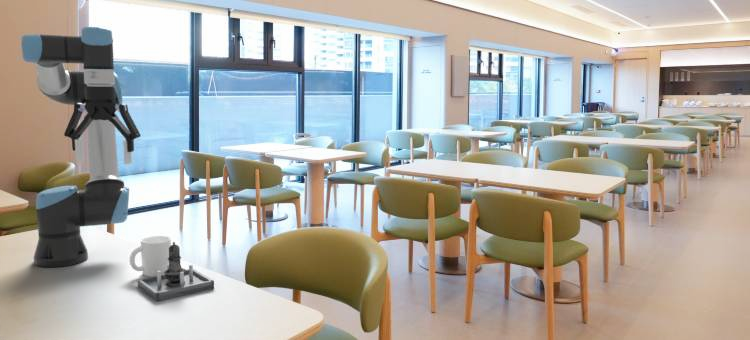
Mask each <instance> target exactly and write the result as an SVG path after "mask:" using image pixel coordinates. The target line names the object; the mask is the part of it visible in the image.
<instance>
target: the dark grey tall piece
mask: <svg viewBox="0 0 750 340" xmlns="http://www.w3.org/2000/svg"><path fill="white" fill-rule="evenodd" d="M180 250H181V249H180V246H179V245H178V244H176V242H175V241H173V242H172V244H171V246H170V247H169V258H168V260H169V268H168V270H165V271H164V274H165V277H166V279H168V280H169V281H168V282H167V283H166V284H165V285H166V286H168V287H178V286H180V272H184V276H185V272H186V270H187V269H186V268H183V267H182V265H181V260H182V256H181V254H180V252H181V251H180ZM184 284H185V281H184Z"/></svg>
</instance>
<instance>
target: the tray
mask: <svg viewBox="0 0 750 340" xmlns="http://www.w3.org/2000/svg"><path fill="white" fill-rule="evenodd" d="M193 265H194V264H189V265H188V269H185V270H186V272H185V276H184V272H180V286H178V287H168V286H166V285H165V284H166V283H167V282H168V281H169V280H168V279H166V277H165V274H163V275H161V271H157V276H153V277H148V276H147V277H144V278H143V277H142V278H139V279H137V282H136V283H137V288H138V289H140V290H141V292H143V293H145V294H146V295H147V296H149V297H150V298H151V299H153V300H154V301H155V302H156V303H157V302H161V301H164V300H170V299H174V298H179V297H183V296H187V295H191V294H195V293H199V292H205V291H208V290H212V289H213V290H214V289H215V281H214V280H213V279H211V278H210V277H208V276H207V275H205V274H204V273H202V272H199V271H198V270H196V269H195V268H194V267H193ZM168 268H169V264H167V270H168ZM184 281H185V284H184Z"/></svg>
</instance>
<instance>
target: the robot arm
mask: <svg viewBox="0 0 750 340" xmlns="http://www.w3.org/2000/svg"><path fill="white" fill-rule="evenodd" d="M21 54H22V58H23V60H24V62H27V63H33V64H35V65H34V66H35V68H36V69H35V70H36V72H37V76H36V84H37V87H38V89H39V90H40V92H41V94H43V95H44V96H45V97H47V98H48V99H51V100H52V101H54V102H56V103H57V102H58V103H60V104H64V105H70V106H73V113H72V114H71V117H70V120H69V122H68V124H67V127H66V129H65V131H64V134H63V136H64V137H66V138H67V137H68V138H70V139H71V145H72V146H71V147H72V151H74V152H75V163H76V164H80V163H81V164H82V163H84V162H85V156H84V154H85V153H84V140H83V139H84V138H81V136H82V135H83V134H84V132H85V131H86V132H87V133H86V134H87V148H88V167H89V180H88V181H87V182H85V184H84V189H79V188H78V186H77V185H63V186H62V185H61V186H57V187H52V188H48V189H44V190H42V191H40V192H39V193H37V195H36V202H35V203H36V204H35V205H36V206H35V209H36V214H37V215H36V217H37V231H38V240H37V244H36V246H35V252H34V255H33V265H35V266H36V267H41V268H59V267H66V266H67V267H68V266H72V265H76V264H79V263H82V262H84V261H86V260H88V258H89V256H88V255H89V254H88V249H87V247H86V244H85V242H84V239H83V237H82V236H81V227H89V226H90V227H92V226H106V225H112V226H113V225H114V224H122V223H124V222H126V221H127V219H128V212H129V211H128V210H129V196H130V187H127V186H125V182H124V180H122V179H121V178H120V177H119V166H118V165H119V164H118V151H117V137H116V129H117V131H118V132H119V133H120V134H121V135H122V136H123V137H124V140H123V141H122V143H123V145H122V146H123V162H124V165H130V164H132V152H134V151H135V139H138V138H140V137H141V133H140V131H139V130H138V127H137V125H136V124H135V121H134V120H133V118H132V116H131V114H130V112H129V108H128V104H127V103H123V94H122V87H121V86H122V85H121V82H120V79H119V75H118V74H117V73H116V72H115V67H114V38H113V32H112V30H111V28H109V27H103V26H102V27H101V26H100V27H99V26H85V27H82V29H81V36H79V35H78V36H77V35H57V34H39V33H34V34H32V33H31V34H29V33H27V34H23V35H22V36H21ZM65 64H83V70H82V69H81V70H78V69H66V67H65ZM116 112H119V114H120V117H121V118H122V120H123V122H124V123H123V122H122V120H121V119H120V118H119V116H118V115H117V114H116ZM83 113H85V115H84V118H83V120H82V121H81V122H80V120H81V117H82V115H83ZM79 122H80V124H79Z"/></svg>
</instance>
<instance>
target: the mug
mask: <svg viewBox="0 0 750 340" xmlns="http://www.w3.org/2000/svg"><path fill="white" fill-rule="evenodd" d="M171 243H172V241H171V237H169V236H167V235H166V236H165V235H154V236H148V237H144V238H142V239H141V240H140V246H137V247H135V248H133V250H132V252H131V254H130V256H129V265H130V266H131V268H132V269H133V270H134V271H137V272H142V274H143V275H144V276H146V277H147V278H148V277H153V276H157V271H161V275H163V274H164V271H165V270H167V264H169V260H168V258H169V247H170V246H171V245H172V244H171ZM138 253H141V266H140V265H139V266H138V265H137V264H136V261H135V259H136V256H137V255H138Z"/></svg>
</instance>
